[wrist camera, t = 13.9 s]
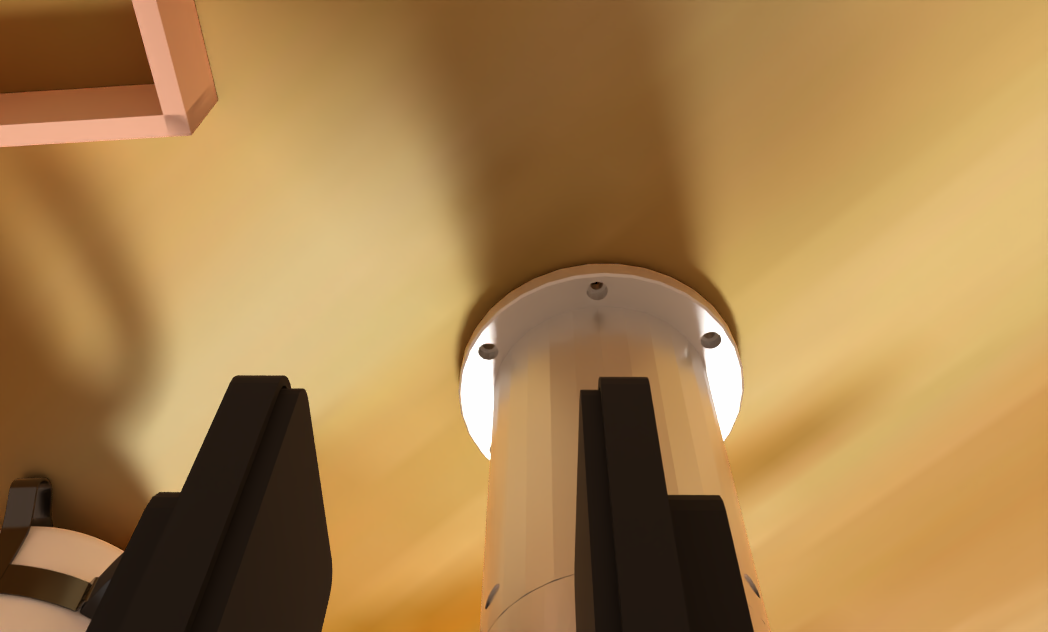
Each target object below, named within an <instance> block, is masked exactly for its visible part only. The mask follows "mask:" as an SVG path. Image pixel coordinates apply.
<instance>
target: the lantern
mask: <svg viewBox="0 0 1048 632" xmlns="http://www.w3.org/2000/svg"><path fill="white" fill-rule="evenodd" d="M124 552H125V551H123V550H121V549H119V548H117V547H115V546H113V545H111V544H109V543H107V542H105V541H103V540H101V539H98V538H95V537H93V536H90V535H87V534H84V533H80V532H76V531H72V530H67V529H61V528H54V527H53V524H52V485H51V482H50V481H49V479H48V478H21V479H16V480H14V481H13V483H12V484H11V487H10V490H9V495H8V501H7V508H6V513H5V518H4V523H3V526H2V529H1V530H0V632H86V630H87V628H88V626H89V624H90V622H91V620H92V617H93V615H94V613H95V611H96V609H97V607H98V605H99V603H100V601H101V599H102V597H103V595H104V593H105V591H106V589H107V587H108V584H109V582H110V580H111V578H112V576H113V574H114V572H115V570H116V568H117V566H118V564H119V562H120V560H121V558H122V556H123V554H124Z"/></svg>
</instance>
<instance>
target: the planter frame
mask: <svg viewBox="0 0 1048 632" xmlns="http://www.w3.org/2000/svg"><path fill="white" fill-rule="evenodd" d="M132 3H133V7H134V10H135V14H136V18H137V21H138V25H139V28H140V32H141V36H142V39H143V43H144V47H145V50H146V54H147V58H148V61H149V65H150V69H151V72H152V76H153V79H154V83H155V84H144V85H128V86H113V87H97V88H81V89H66V90H50V91H34V92H19V93H3V94H0V147H9V146H25V145H41V144H58V143H74V142H90V141H107V140H123V139H139V138H155V137H172V136H188V135H192V134H193V133H194V131H195V130H196V129H197V127H198V126H199V125H200V123H201V122H202V121H203V119H204V118H205V117H206V116H207V114H208V113H209V112H210V110H211V109H212V108H213V106H214V105H215V104H216V102H217V101H218V98H217V94H216V90H215V86H214V81H213V77H212V73H211V69H210V65H209V61H208V57H207V53H206V48H205V44H204V40H203V36H202V32H201V28H200V24H199V19H198V15H197V11H196V7H195V3H194V0H132Z"/></svg>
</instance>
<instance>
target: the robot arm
mask: <svg viewBox="0 0 1048 632" xmlns="http://www.w3.org/2000/svg"><path fill="white" fill-rule="evenodd" d="M594 282H601V283H599V284H592V283H594ZM708 332H709V333H708ZM487 343H490V344H487ZM743 391H744V383H743V367H742V363H741V360H740V356H739V352H738V349H737V345H736V343H735V341H734V339H733V336H732V334H731V332H730V330H729V327H728V325H727V324H726V322H725V321H724V320H723V318H722V317H721V316H720V315H719V313H718V312H717V311H716V309H715V308H714V307H713V306H712V305H711V304H710V303H709V302H708V301H707V300H705V299H704V298H703V297H702V296H701V295H700V294H698V293H697V292H696V291H695V290H694V289H692V288H690V287H688V286H686V285H685V284H683V283H681V282H679V281H678V280H676V279H674V278H672V277H670V276H667V275H664V274H661V273H658V272H655V271H652V270H649V269H647V268H642V267H635V266H629V265H622V264H586V265H580V266H575V267H569V268H564V269H559V270H556V271H554V272H551V273H548V274H545V275H542V276H540V277H537V278H534V279H532V280H531V281H529V282H527V283H525V284H524V285H522V286H520V287H518V288H517V289H515V290H513V291H511V292H510V293H509V294H507V295H506V296H505V297H504V298H503V299H502V300H500V301H499V302H498V303H497V304H496V305H495V306H493V307H492V308H491V309H490V310H489V311H488V313H487V314H486V315H485V317H484V318H483V319H482V320H481V322H480V323H479V324H478V326H477V327H476V328H475V330H474V332H473V334H472V336H471V338H470V340H469V342H468V344H467V347H466V349H465V352H464V357H463V361H462V365H461V370H460V382H459V399H460V407H461V414H462V417H463V419H464V422H465V425H466V427H467V430H468V433H469V435H470V436H471V438H472V439H473V441H474V442H475V444H476V445H477V447H478V448H479V450H480V451H481V453H482V454H483V455H484V456H485V457H486V458H487V459H488V460H489V461H490V468H489V485H488V502H487V519H486V535H485V552H484V569H483V586H482V603H481V620H480V632H771V631H770V627H769V623H768V619H767V615H766V611H765V607H764V603H763V598H762V594H761V590H760V586H759V582H758V578H757V574H756V570H755V566H754V562H753V558H752V554H751V550H750V546H749V542H748V538H747V534H746V530H745V526H744V522H743V518H742V513H741V509H740V505H739V501H738V497H737V493H736V489H735V485H734V481H733V477H732V473H731V469H730V465H729V461H728V457H727V453H726V449H725V445H724V441H725V439H726V438H727V437H728V435H729V434H730V432H731V431H732V428H733V426H734V424H735V421H736V419H737V417H738V414H739V412H740V408H741V402H742V397H743ZM331 584H332V558H331V551H330V545H329V538H328V531H327V524H326V517H325V511H324V504H323V497H322V490H321V483H320V477H319V470H318V463H317V456H316V449H315V443H314V436H313V429H312V422H311V415H310V409H309V402H308V397H307V393H306V391H305V389H291V385H290V382H289V380H288V378H287V377H286V376H239V375H237V376H235V377H233V379H232V381H231V382H230V384H229V386H228V389H227V391H226V393H225V395H224V397H223V400H222V402H221V404H220V406H219V409H218V411H217V413H216V415H215V417H214V420H213V422H212V424H211V426H210V429H209V431H208V433H207V435H206V437H205V440H204V442H203V444H202V446H201V449H200V451H199V453H198V455H197V457H196V460H195V462H194V464H193V466H192V468H191V471H190V473H189V475H188V477H187V480H186V482H185V484H184V486H183V488H182V491H181V492H159V493H158V494H156V495H155V496H153V497H152V499H151V500H150V502H149V503H148V505H147V507H146V508H145V510H144V512H143V514H142V516H141V519H140V521H139V523H138V525H137V527H136V529H135V531H134V533H133V535H132V537H131V539H130V541H129V543H128V545H127V547H126V549H125V552H124V554H123V556H122V558H121V560H120V562H119V564H118V566H117V568H116V570H115V572H114V574H113V576H112V578H111V580H110V582H109V584H108V587H107V589H106V591H105V593H104V595H103V597H102V599H101V601H100V603H99V605H98V607H97V609H96V611H95V613H94V615H93V617H92V620H91V622H90V624H89V626H88V628H87V630H86V632H321V631H322V626H323V622H324V618H325V614H326V609H327V605H328V601H329V596H330V591H331Z"/></svg>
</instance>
